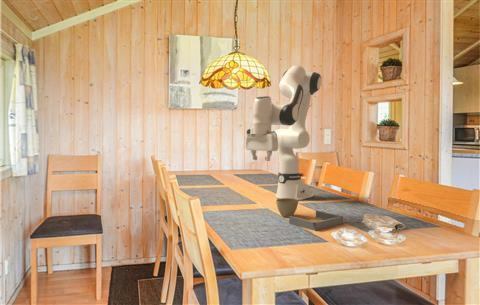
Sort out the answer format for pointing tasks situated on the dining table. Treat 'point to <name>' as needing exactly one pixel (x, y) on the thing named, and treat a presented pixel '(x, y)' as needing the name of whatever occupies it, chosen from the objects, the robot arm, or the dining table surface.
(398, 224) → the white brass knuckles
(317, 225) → the frame
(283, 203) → the flower pot
